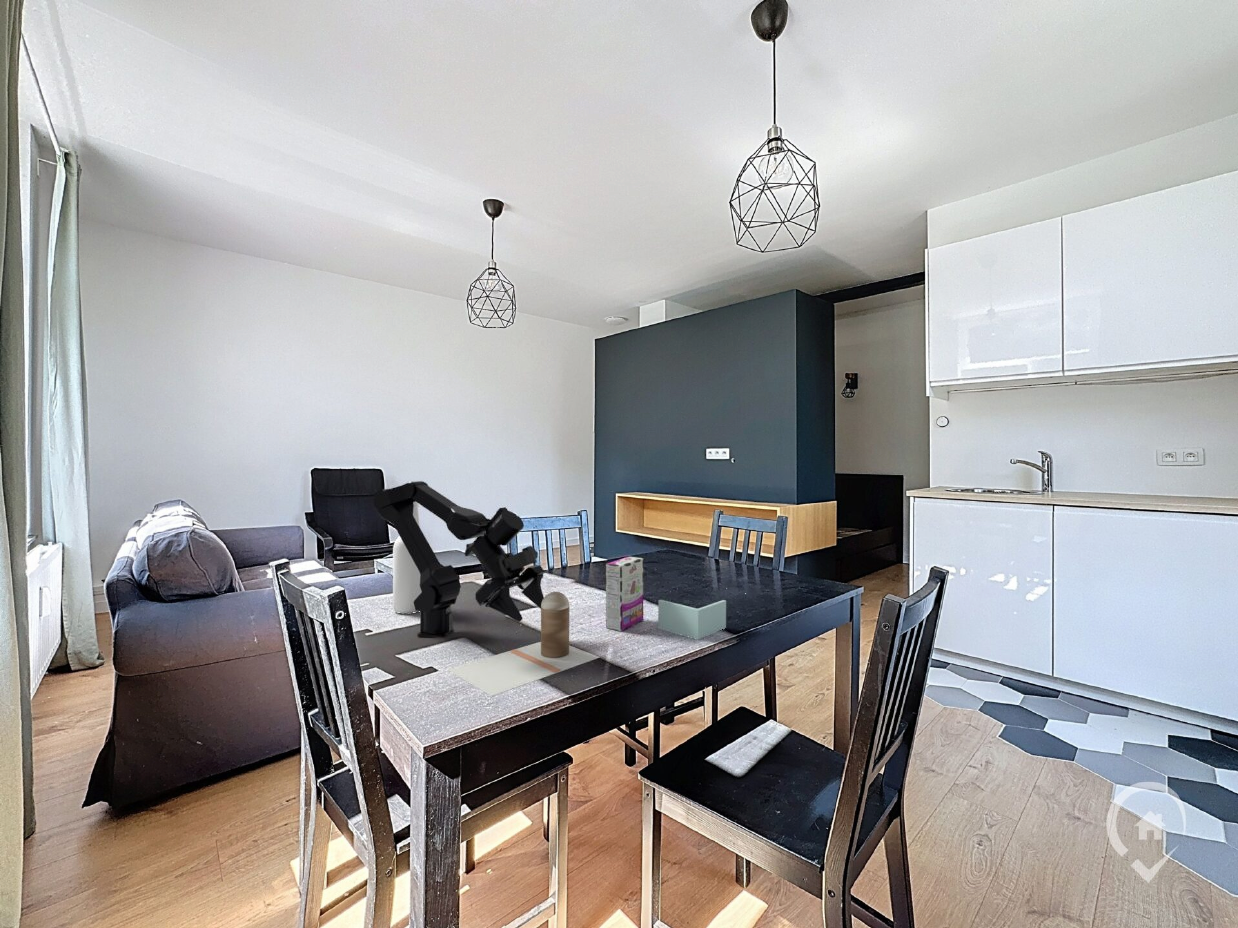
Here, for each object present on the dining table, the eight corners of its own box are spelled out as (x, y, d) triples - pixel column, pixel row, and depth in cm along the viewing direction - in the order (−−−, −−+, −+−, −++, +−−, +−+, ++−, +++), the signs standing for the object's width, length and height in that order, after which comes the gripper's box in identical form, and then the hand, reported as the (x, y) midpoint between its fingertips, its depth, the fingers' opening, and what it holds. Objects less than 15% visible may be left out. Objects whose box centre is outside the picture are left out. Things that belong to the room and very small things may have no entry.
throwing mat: (491, 700, 94) (491, 694, 94) (446, 673, 106) (447, 668, 106) (599, 660, 113) (599, 656, 113) (551, 641, 124) (551, 637, 124)
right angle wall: (725, 630, 135) (726, 600, 135) (697, 642, 127) (698, 610, 126) (686, 619, 144) (687, 591, 143) (658, 630, 135) (658, 600, 135)
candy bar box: (627, 617, 144) (628, 555, 143) (643, 620, 141) (644, 557, 141) (604, 628, 134) (604, 562, 134) (621, 632, 131) (622, 565, 131)
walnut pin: (544, 659, 111) (545, 596, 111) (537, 649, 117) (538, 590, 117) (572, 655, 114) (573, 594, 113) (564, 646, 119) (564, 587, 119)
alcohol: (393, 616, 142) (393, 502, 142) (392, 607, 150) (393, 499, 150) (428, 612, 146) (428, 501, 145) (426, 604, 154) (426, 498, 153)
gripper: (487, 541, 111) (531, 602, 106) (538, 530, 128) (578, 582, 123) (457, 575, 114) (498, 635, 110) (510, 560, 131) (548, 611, 127)
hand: (533, 614), depth 117 cm, fingers open, 9 cm apart
